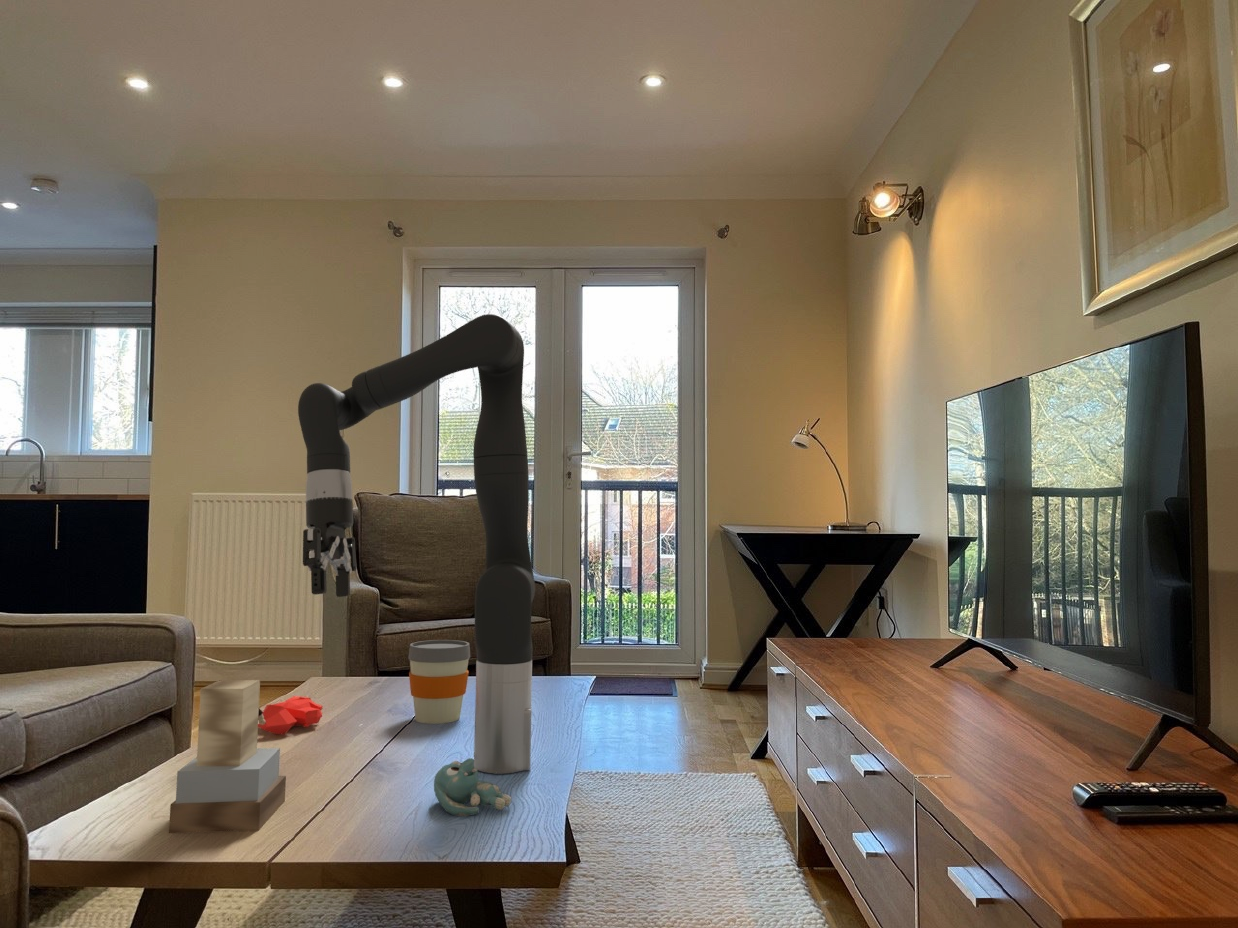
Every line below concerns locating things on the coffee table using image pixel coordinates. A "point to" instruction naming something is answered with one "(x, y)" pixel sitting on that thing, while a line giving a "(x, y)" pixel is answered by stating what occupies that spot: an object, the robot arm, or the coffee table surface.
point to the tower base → (227, 813)
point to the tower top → (228, 779)
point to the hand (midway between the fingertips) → (331, 595)
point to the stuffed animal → (466, 789)
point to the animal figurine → (291, 714)
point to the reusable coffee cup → (438, 679)
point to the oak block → (228, 722)
